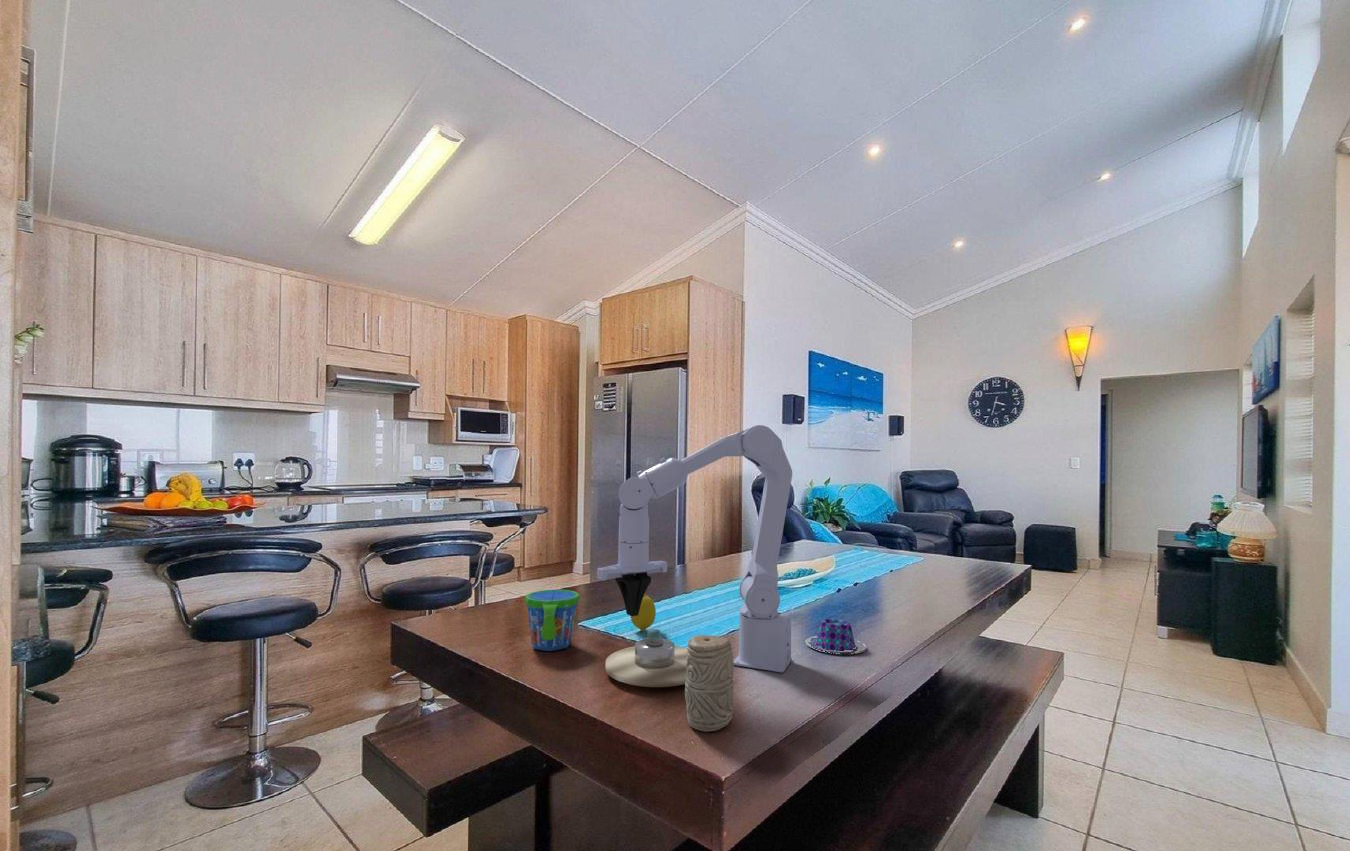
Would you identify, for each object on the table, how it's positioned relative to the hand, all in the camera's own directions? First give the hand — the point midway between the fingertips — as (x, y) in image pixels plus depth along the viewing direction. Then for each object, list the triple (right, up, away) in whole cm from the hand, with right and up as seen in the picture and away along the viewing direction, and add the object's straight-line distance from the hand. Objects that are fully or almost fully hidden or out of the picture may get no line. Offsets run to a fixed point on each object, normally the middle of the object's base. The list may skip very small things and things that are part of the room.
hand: (632, 614), depth 107 cm
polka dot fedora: (+41, -10, +10) cm, 43 cm away
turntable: (+5, -8, -6) cm, 11 cm away
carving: (+13, -7, -26) cm, 30 cm away
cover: (+4, -6, -7) cm, 10 cm away
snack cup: (-17, -9, +7) cm, 20 cm away
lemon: (+1, -10, +18) cm, 20 cm away
